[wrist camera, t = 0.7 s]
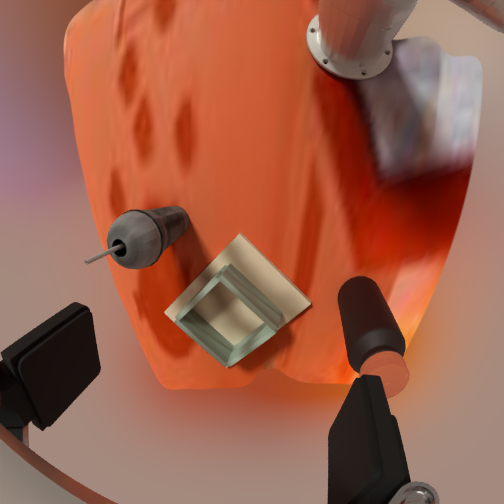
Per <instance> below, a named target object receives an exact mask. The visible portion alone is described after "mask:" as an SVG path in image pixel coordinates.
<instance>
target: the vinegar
mask: <svg viewBox="0 0 504 504" xmlns="http://www.w3.org/2000/svg"><path fill="white" fill-rule="evenodd" d="M338 305H339V310H340V315H341V321H342V326H343V332H344V338H345V344H346V350H347V356H348V360H349V364H350V366H351V367H352V368H353V370H354V371H356V372H358V373H359V374H360V377H361V376H362V375H363V374H368V375H378V376H380V377H381V380H382V383H383V387H384V390H385V394H386V398H387V399H388V398H390V397H393V396H395V395H396V394H398V393H399V392H400V391H402V390H403V389H404V387H405V386H406V385H407V382H408V380H409V371H408V369H407V366H406V364H405V361H404V359H403V356H404V352H405V348H406V347H405V339H404V337H403V335H402V333H401V331H400V329H399V326H398V324H397V322H396V320H395V318H394V316H393V314H392V312H391V310H390V308H389V306H388V304H387V302H386V300H385V299H384V297H383V295H382V293H381V291H380V289H379V287H378V286H377V284H376V282H374V281H373V280H372V279H370V278H367V277H361V276H358V277H354V278H351V279H349V280H348V281H346V282H345V283H344V284H343V285H342V287H341V288H340V291H339V293H338Z"/></svg>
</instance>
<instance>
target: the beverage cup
mask: <svg viewBox="0 0 504 504" xmlns="http://www.w3.org/2000/svg"><path fill="white" fill-rule="evenodd" d="M188 226H189V217H188V214H187V213H186V211H185V210H184V209H182V208H181V207H178V206H173V207H163V208H156V209H150V210H129V211H127V212H125V213H123V214H122V215H121V216H120V217H118V218H117V219H116V220H115V221H114V222H113V224H112V225H111V227H110V230H109V232H108V237H107V245H108V250H106V251H104V252H101V253H99V254H97V255H95V256H93V257H91V258H89V259H86V260H85V264H86V265H87V264H89V263H91V262H93V261H96V260H98V259H100V258H102V257H104V256H106V255H108V254H110V255H111V256H112V258H113V259H114V260H115V261H116V262H117V263H118V264H119V265H121V266H123V267H125V268H128V269H141V268H144V267H148V266H151V265H153V264H154V263H155V262H157V261H158V259H159V257H160V256H161V255H162V253H163V251H164V250H165V249H166V248H168V247H169V246H170V245H171V244H172V243H173V242H174V241H175V240H177V239H178V238H179V237H180V236H181V235H182V234H183V233H184V232H185V231H186V230H187V228H188Z"/></svg>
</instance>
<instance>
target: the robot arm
mask: <svg viewBox="0 0 504 504" xmlns="http://www.w3.org/2000/svg"><path fill="white" fill-rule="evenodd" d="M450 1H451V2H453V3H454V4H456V5H458V6H459V7H461V8H462V9H464V10H465V11H467V12H468V13H470V14H471V15H473V16H474V17H476V18H477V19H478V20H480V21H482V22H483V23H484V24H486V25H488V26H489V27H491V28H492V29H494V30H497V31H498V32H501V33H504V0H450ZM416 4H417V0H319V14H318V15H316V16H315V17H314V18H313V19H312V20H311V22H310V24H309V25H308V29H307V34H306V40H307V46H308V49H309V51H310V53H311V55H312V57H313V58H314V59H315V61H316V62H317V63H318V64H319V65H320V66H321V67H323V68H324V69H325V70H327V71H328V72H330V73H332V74H334V75H336V76H338V77H342V78H345V79H351V80H365V79H370V78H373V77H375V76H377V75H379V74H380V73H382V72H383V71H384V70H385V69H386V68H387V66H388V65H389V63H390V61H391V58H392V53H393V48H392V42H391V41H392V40H393V38H394V37H395V35H396V34H397V32H398V31H399V30H400V28H401V27H402V25H403V24H404V23H405V21H406V20H407V18H408V17H409V15H410V14H411V12H412V11H413V10H414V8H415V6H416ZM311 32H314V33H311ZM385 53H386V54H387V55H386V54H385ZM324 62H326V63H327V64H324ZM362 73H364V74H365V76H364V75H362ZM1 355H2V358H3V360H2V361H0V504H117V503H115V502H113V501H111V500H109V499H107V498H105V497H103V496H101V495H100V494H98V493H96V492H94V491H92V490H91V489H89V488H87V487H85V486H84V485H82V484H80V483H78V482H77V481H75V480H74V479H72V478H70V477H69V476H67V475H66V474H64V473H63V472H61V471H60V470H58V469H57V468H55V467H54V466H52V465H51V464H49V463H48V462H47V461H45V460H44V459H43V458H41V457H40V456H38V455H37V454H36V453H35V452H33V451H32V450H31V449H30V448H29V440H28V438H29V437H28V423H29V422H30V421H32V423H33V424H34V425H35V426H36V427H38V428H39V429H40V430H42V431H43V430H44V429H45V428H46V427H49V426H51V425H52V424H53V423H54V422H55V421H56V420H57V419H58V418H59V417H60V416H61V414H62V413H63V412H64V411H65V410H66V409H67V408H68V407H69V406H70V405H71V404H72V402H73V401H74V400H75V399H76V398H77V397H78V396H79V395H80V394H81V393H82V392H83V391H84V390H85V388H86V387H87V386H88V385H89V384H90V383H91V382H92V381H93V380H94V379H95V378H96V377H97V376H98V375H99V373H100V370H101V366H100V361H99V355H98V350H97V344H96V338H95V331H94V324H93V316H92V313H91V312H90V309H89V308H88V307H87V306H85V305H82V304H80V303H77V302H74V303H72V304H70V305H69V306H67V307H66V308H64V309H63V310H61V311H60V312H58V313H57V314H55V315H54V316H52V317H51V318H49V319H48V320H46V321H45V322H43V323H42V324H40V325H39V326H37V327H36V328H34V329H33V330H32V331H30V332H29V333H27V334H26V335H24V336H23V337H21V338H20V339H19V340H17V341H16V342H14V343H13V344H12V345H10V346H9V347H7V348H6V349H5V350H3V351H2V352H1ZM328 504H439V497H438V493H437V492H436V491H435V489H434V488H433V487H432V486H430V485H429V484H426V483H424V482H417V481H416V482H411V480H410V475H409V470H408V466H407V462H406V457H405V452H404V448H403V443H402V440H401V435H400V431H399V427H398V423H397V420H396V418H395V416H394V415H391V413H390V409H389V405H388V402H387V398H386V394H385V390H384V387H383V383H382V380H381V377H380V376H378V375H368V374H363V375H362V376H361V377H360V378H356V379H355V380H354V382H353V384H352V387H351V389H350V391H349V393H348V395H347V397H346V399H345V401H344V403H343V405H342V407H341V409H340V411H339V413H338V415H337V417H336V419H335V421H334V423H333V424H332V426H331V428H330V431H329V435H328Z"/></svg>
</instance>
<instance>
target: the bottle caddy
mask: <svg viewBox="0 0 504 504" xmlns="http://www.w3.org/2000/svg"><path fill="white" fill-rule="evenodd" d="M310 304H311V300H310V299H309V298H308V297H306V296H305V295H304V294H303V293H302V292H301V291H300V290H299V289H298V288H297V287H296V286H295V285H294V284H293V283H292V282H291V281H290V280H289V279H288V278H287V277H286V276H285V275H284V274H283V273H282V272H281V271H280V270H279V269H278V268H277V267H276V266H275V265H274V264H273V263H272V262H271V261H270V260H269V259H268V258H267V257H266V256H265V255H264V254H263V253H262V252H261V251H260V250H259V249H258V248H257V247H256V246H255V245H253V244H252V243H251V242H250V241H249V240H248V239H247V238H246V237H245V236H244V235H243V234H242V233H241V232H240V233H239V234H238V236H237V237H236V238H235V239H234V240H233V241H232V242H231V243H230V244H229V245H228V246H227V247H226V248H225V249H224V250H223V251H222V252H221V253H220V254H219V255H218V256H217V257H216V258H215V259H214V260H213V261H212V262H211V263H210V264H209V265H208V266H207V268H206V269H205V270H204V271H203V272H202V273H201V274H200V275H199V276H198V277H197V278H196V279H195V280H194V281H193V282H192V283H191V284H190V285H189V286H188V287H187V288H186V289H185V291H184V292H183V293H182V294H181V295H180V296H179V297H178V298H177V299H176V300H175V301H174V302H173V303H172V304H171V305H170V306H169V307H168V309H167V310H166V311H165V312H164V313H165V314H166V315H167V316H168V317H169V318H170V319H171V320H172V321H173V322H174V323H175V324H177V325H178V326H179V327H180V328H181V329H182V330H183V331H184V332H185V333H186V334H187V335H189V336H190V337H191V338H192V339H193V340H194V341H195V342H196V343H198V344H199V345H200V346H201V347H202V348H203V349H204V350H206V351H207V352H208V353H209V354H210V355H211V356H213V357H214V358H215V359H216V360H217V361H218V362H220V363H221V364H222V365H223V366H224V367H226V368H227V367H228V366H230V367H231V366H232V365H234V364H235V363H236V362H238V361H239V360H241V359H242V358H243V357H245V356H246V355H248V354H249V353H250V352H252V351H253V350H254V349H256V348H257V347H258V346H260V345H261V344H263V343H264V342H265V341H267V340H268V339H269V338H271V337H272V336H273V335H275V334H276V332H277V330H279V329H280V328H281V327H283V326H284V325H285V324H286V323H288V322H289V321H290V320H292V319H293V318H294V317H295V316H297V315H298V314H299V313H300V312H302V311H303V310H304V309H305V308H307V307H308V306H309V305H310Z"/></svg>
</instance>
